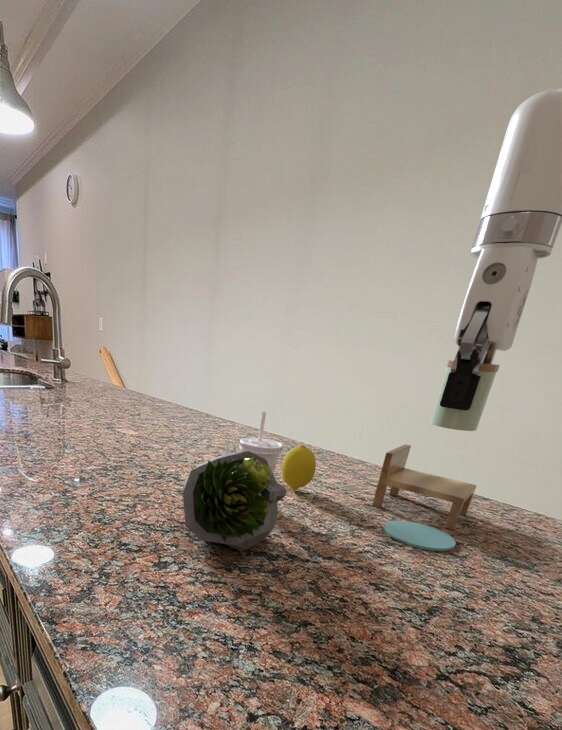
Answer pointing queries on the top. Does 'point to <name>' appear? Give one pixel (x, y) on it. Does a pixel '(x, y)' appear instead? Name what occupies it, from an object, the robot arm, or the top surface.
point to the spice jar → (472, 416)
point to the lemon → (298, 467)
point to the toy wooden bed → (422, 485)
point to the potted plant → (232, 500)
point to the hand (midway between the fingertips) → (459, 405)
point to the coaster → (420, 535)
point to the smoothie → (263, 446)
